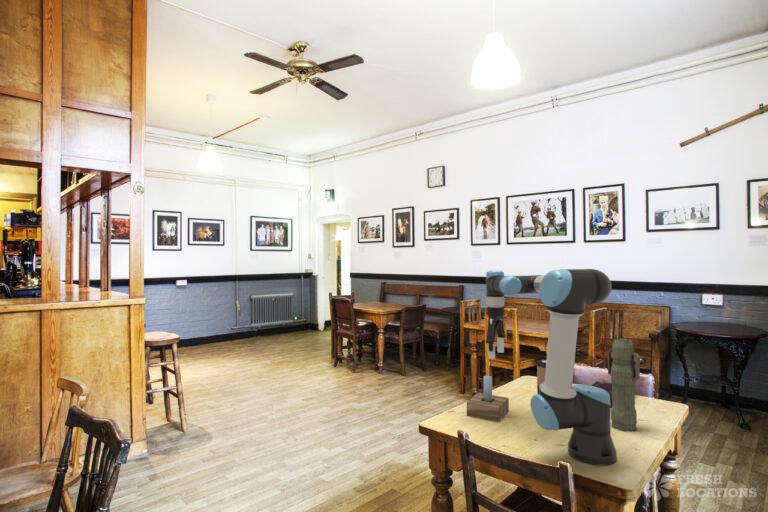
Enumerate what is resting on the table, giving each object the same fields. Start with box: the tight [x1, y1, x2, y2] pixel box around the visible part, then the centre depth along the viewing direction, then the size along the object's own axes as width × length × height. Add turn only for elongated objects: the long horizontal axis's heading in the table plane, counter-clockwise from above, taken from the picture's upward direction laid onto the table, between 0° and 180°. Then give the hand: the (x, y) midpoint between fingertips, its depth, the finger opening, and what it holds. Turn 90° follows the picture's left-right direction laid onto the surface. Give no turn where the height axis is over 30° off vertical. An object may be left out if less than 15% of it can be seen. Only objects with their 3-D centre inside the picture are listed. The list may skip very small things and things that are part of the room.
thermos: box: [606, 337, 641, 432], centre depth 171 cm, size 9×12×35 cm
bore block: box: [466, 392, 510, 423], centre depth 187 cm, size 14×14×6 cm
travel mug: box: [536, 358, 547, 394], centre depth 198 cm, size 8×8×20 cm
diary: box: [590, 380, 612, 408], centre depth 204 cm, size 19×25×5 cm
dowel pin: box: [483, 375, 493, 402], centre depth 187 cm, size 4×4×14 cm
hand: (496, 355), depth 186 cm, fingers open, 13 cm apart
